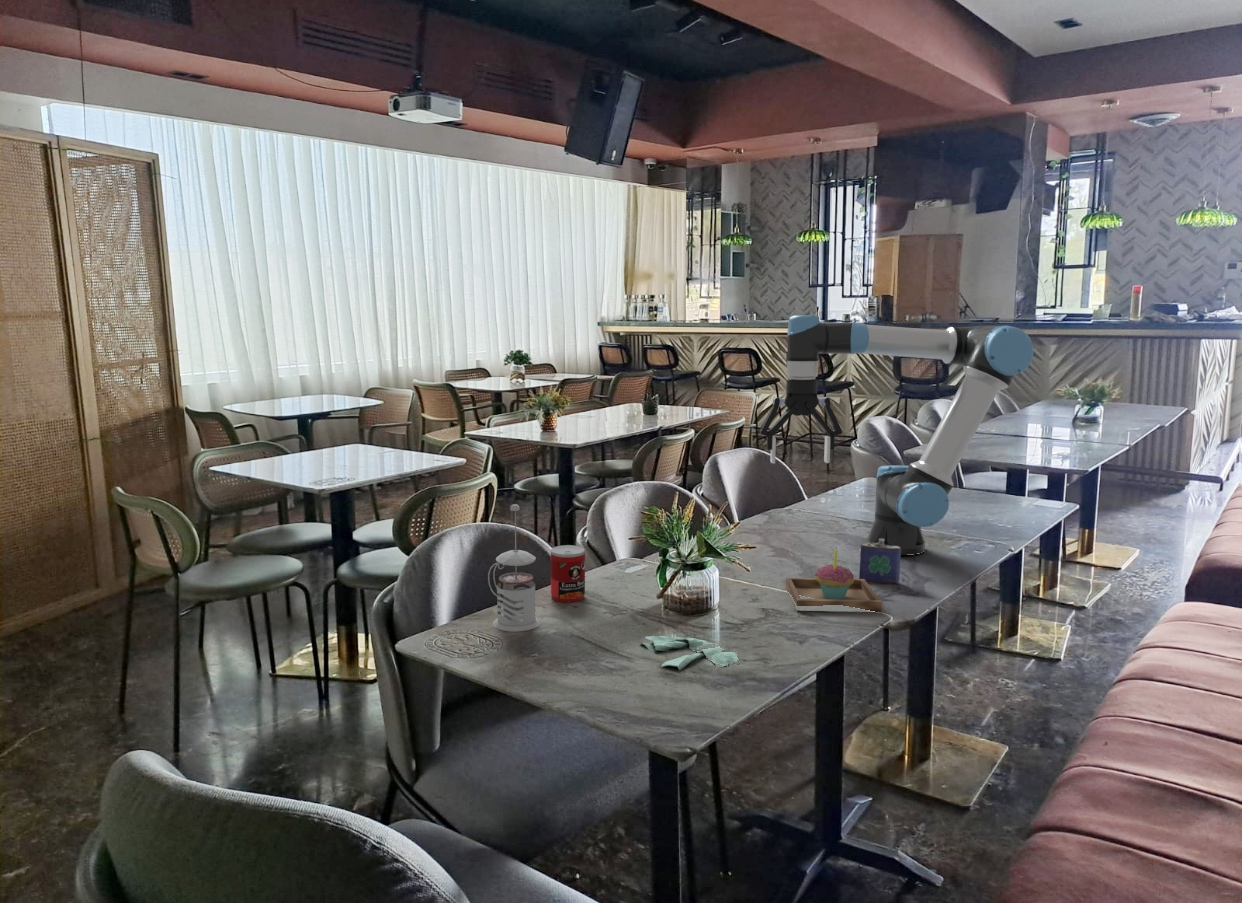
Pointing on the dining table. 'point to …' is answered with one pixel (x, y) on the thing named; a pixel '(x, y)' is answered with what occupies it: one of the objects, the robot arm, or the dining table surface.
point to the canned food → (567, 573)
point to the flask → (880, 563)
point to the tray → (855, 597)
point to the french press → (515, 591)
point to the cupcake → (834, 580)
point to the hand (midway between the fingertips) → (799, 462)
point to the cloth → (680, 643)
